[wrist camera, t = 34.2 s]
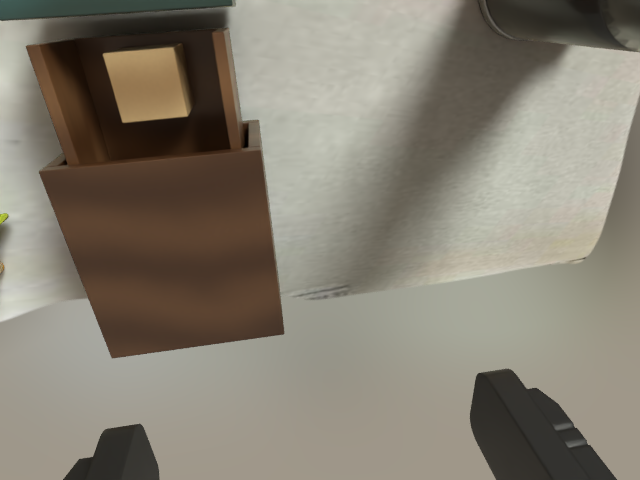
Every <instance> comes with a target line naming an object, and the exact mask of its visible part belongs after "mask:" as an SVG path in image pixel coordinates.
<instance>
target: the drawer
mask: <svg viewBox="0 0 640 480" xmlns="http://www.w3.org/2000/svg"><path fill="white" fill-rule="evenodd" d="M234 6H236V0H0V20H1V21H8V20H29V19H49V18H65V17H81V16H96V15H112V14H127V13H142V12H158V11H173V10H188V9H204V8H219V7H234ZM172 43H182V44H183V48H184V53H185V58H186V63H187V67H188V72H189V77H190V82H191V87H192V92H193V97H194V102H195V105H194V107H193V108H192V110H191V112H190V114H189V115H188V117H181V118H171V119H161V120H151V121H142V122H132V123H123V122H122V120H121V116H120V113H119V109H118V106H117V102H116V99H115V96H114V92H113V89H112V85H111V82H110V78H109V75H108V72H107V68H106V65H105V61H104V58H103V53H106V52H109V51H113V50H116V49H119V48H126V47H137V46H149V45H161V44H172ZM26 49H27V51H28V54H29V57H30V60H31V63H32V66H33V68H34V71H35V74H36V77H37V80H38V82H39V85H40V88H41V91H42V94H43V96H44V99H45V102H46V105H47V108H48V111H49V113H50V116H51V119H52V122H53V125H54V127H55V130H56V133H57V136H58V139H59V142H60V144H61V147H62V150H63V153H64V156H65V158H66V161H67V164H68V165H74V164H84V163H95V162H105V161H115V160H126V159H136V158H146V157H156V156H167V155H177V154H187V153H198V152H208V151H218V150H229V149H239V148H246V144H245V138H244V131H243V124H242V117H241V110H240V103H239V96H238V89H237V82H236V75H235V68H234V61H233V54H232V47H231V40H230V33H229V28H216V29H201V30H187V31H173V32H158V33H144V34H130V35H115V36H101V37H86V38H72V39H64V40H57V41H51V42H45V43H39V44H33V45H27V46H26Z"/></svg>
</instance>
